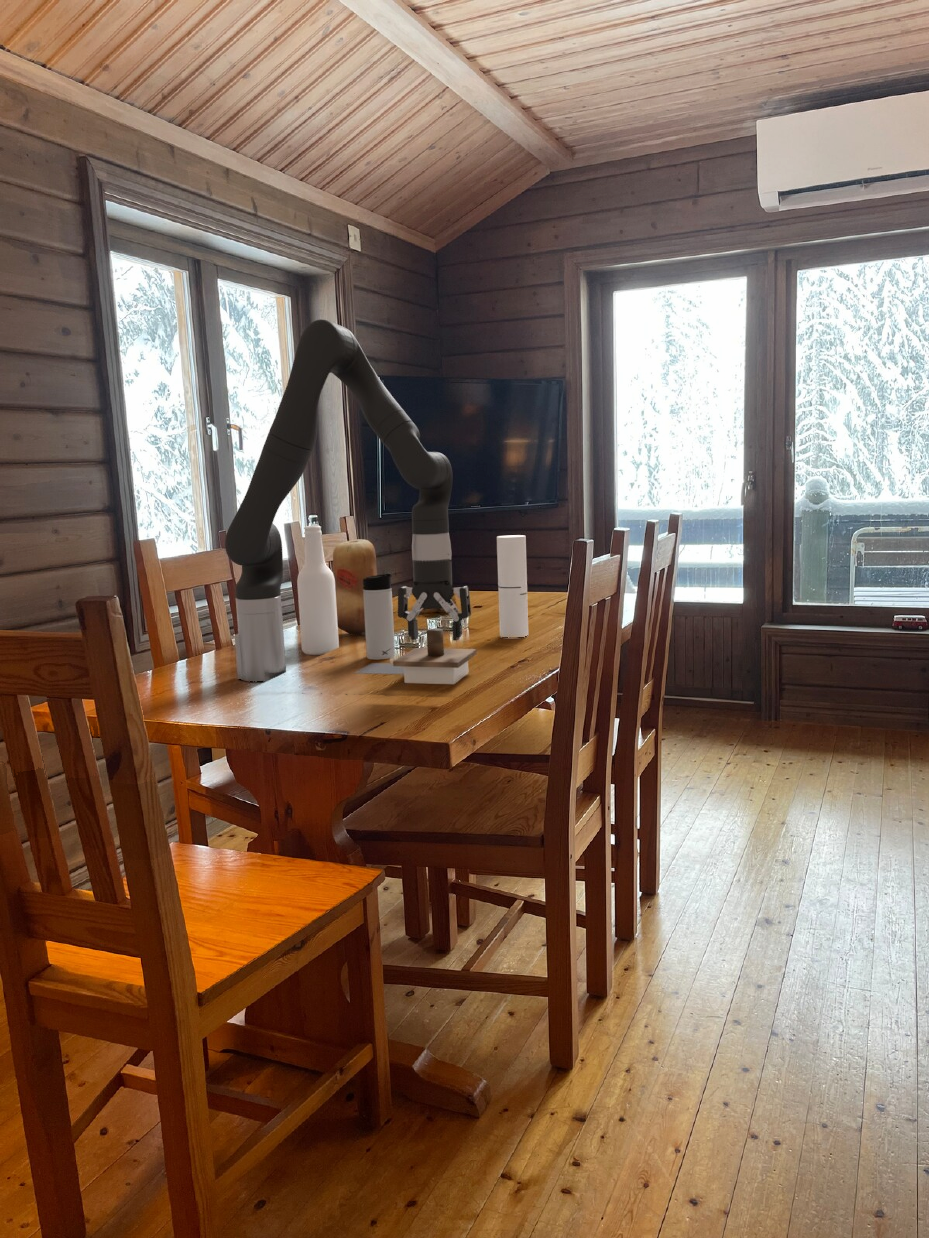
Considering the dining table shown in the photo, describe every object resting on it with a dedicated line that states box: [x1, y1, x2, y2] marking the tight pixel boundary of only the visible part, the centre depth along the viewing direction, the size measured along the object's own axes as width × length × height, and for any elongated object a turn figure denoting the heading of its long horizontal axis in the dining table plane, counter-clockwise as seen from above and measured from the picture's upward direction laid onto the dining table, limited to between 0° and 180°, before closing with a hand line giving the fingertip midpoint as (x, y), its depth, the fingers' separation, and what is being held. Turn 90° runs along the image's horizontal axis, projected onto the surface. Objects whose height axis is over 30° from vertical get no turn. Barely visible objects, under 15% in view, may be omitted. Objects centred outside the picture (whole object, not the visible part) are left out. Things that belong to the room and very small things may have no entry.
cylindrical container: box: [496, 534, 529, 639], centre depth 231 cm, size 7×7×25 cm
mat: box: [354, 662, 404, 676], centre depth 192 cm, size 13×10×2 cm
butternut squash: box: [332, 538, 378, 637], centre depth 240 cm, size 14×13×25 cm
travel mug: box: [363, 572, 396, 660], centre depth 204 cm, size 6×7×20 cm
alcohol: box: [296, 525, 340, 656], centre depth 219 cm, size 9×9×30 cm
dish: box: [403, 660, 469, 685], centre depth 182 cm, size 10×10×5 cm
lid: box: [392, 628, 478, 668], centre depth 181 cm, size 13×13×6 cm
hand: (435, 639), depth 181 cm, fingers open, 8 cm apart
